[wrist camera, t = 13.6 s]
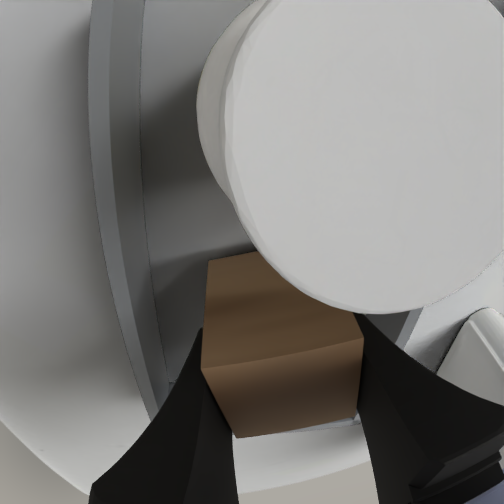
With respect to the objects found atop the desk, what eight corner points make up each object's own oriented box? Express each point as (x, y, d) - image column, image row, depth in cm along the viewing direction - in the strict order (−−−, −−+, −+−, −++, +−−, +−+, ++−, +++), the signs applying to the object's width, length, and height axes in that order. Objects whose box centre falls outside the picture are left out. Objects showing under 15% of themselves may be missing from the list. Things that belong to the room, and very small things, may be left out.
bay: (437, 30, 8) (488, 27, 6) (347, 384, 18) (360, 423, 15) (128, -9, 7) (97, -33, 5) (160, 388, 17) (154, 431, 14)
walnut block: (322, 319, 14) (355, 416, 9) (232, 336, 14) (236, 438, 9) (316, 239, 12) (364, 337, 7) (208, 260, 12) (200, 368, 7)
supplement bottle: (282, 190, 11) (365, 387, 4) (182, 101, 10) (56, 164, 2) (376, 103, 10) (580, 180, 3) (285, 5, 8) (416, -126, 1)
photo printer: (463, 309, 16) (563, 477, 5) (505, 300, 16) (599, 438, 5) (410, 406, 21) (458, 535, 10) (451, 394, 21) (502, 510, 11)
